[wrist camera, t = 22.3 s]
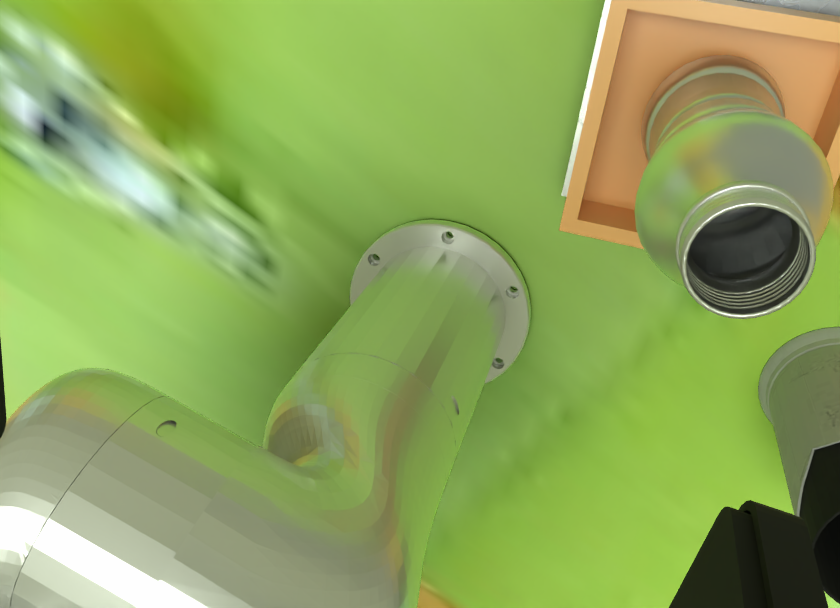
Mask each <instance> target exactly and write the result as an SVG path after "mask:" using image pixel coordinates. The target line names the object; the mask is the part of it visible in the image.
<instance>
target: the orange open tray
mask: <svg viewBox="0 0 840 608" xmlns="http://www.w3.org/2000/svg"><path fill="white" fill-rule="evenodd" d="M714 55H731V56H736V57H742V58H745V59H747V60H750V61H752V62H754V63H756V64H758V65H759V66H761V67H762V68H763V69H765V70H766V71H767V72H768V73H769V74H770V75H771V76H772V78H773V79H774V80H775V81H776V83H777V85H778V87H779V89H780V91H781V93H782V96H783V100H784V104H785V118H786V119H789V120H790V121H792V122H793V123H794V124H796V125H797V126H798V127H800V128H801V129H803V130H804V131H805V132H806V133H807V134H808V135H810V137H811V138H812V139H813V140H814V141H815V143H816V144H817V145H818V146H819V147H820V148H821V150H822V152H823V154H824V156H825V158H826V160H827V162H828V164H829V166H830V171H831V175H832V179H833V190H834V187H835V185H836V182H837V180H838V177H839V175H840V16H833V15H827V14H820V13H814V12H807V11H801V10H795V9H788V8H782V7H775V6H769V5H762V4H756V3H750V2H743V1H737V0H611V4H610V9H609V13H608V17H607V22H606V26H605V31H604V35H603V39H602V44H601V48H600V53H599V57H598V61H597V66H596V70H595V74H594V79H593V83H592V88H591V92H590V96H589V101H588V105H587V110H586V114H585V118H584V123H583V127H582V131H581V136H580V140H579V145H578V149H577V153H576V158H575V162H574V167H573V171H572V175H571V180H570V184H569V189H568V193H567V197H566V202H565V206H564V210H563V215H562V219H561V224H560V228H559V231H564V232H568V233H573V234H577V235H582V236H587V237H591V238H596V239H600V240H605V241H609V242H614V243H619V244H623V245H628V246H632V247H637V248H642V249H644V248H643V246H642V244H641V242H640V239H639V236H638V233H637V230H636V222H635V212H634V211H635V202H636V194H637V191H638V188H639V185H640V182H641V179H642V176H643V172H644V170H645V168H646V167H647V165H648V161H647V159H646V156H645V153H644V150H643V147H642V139H641V127H642V119H643V116H644V112H645V109H646V106H647V104H648V102H649V100H650V99H651V97H652V95H653V93H654V92H655V91H656V89H657V88H658V87H659V85H660V84H661V83H662V82H663V81H664V80H665V79H666V78H667V77H668V76H669V75H671V74H672V73H673V72H674V71H676V70H677V69H679V68H680V67H682V66H684V65H685V64H687V63H690V62H692V61H695V60H697V59H700V58H704V57H709V56H714Z"/></svg>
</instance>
